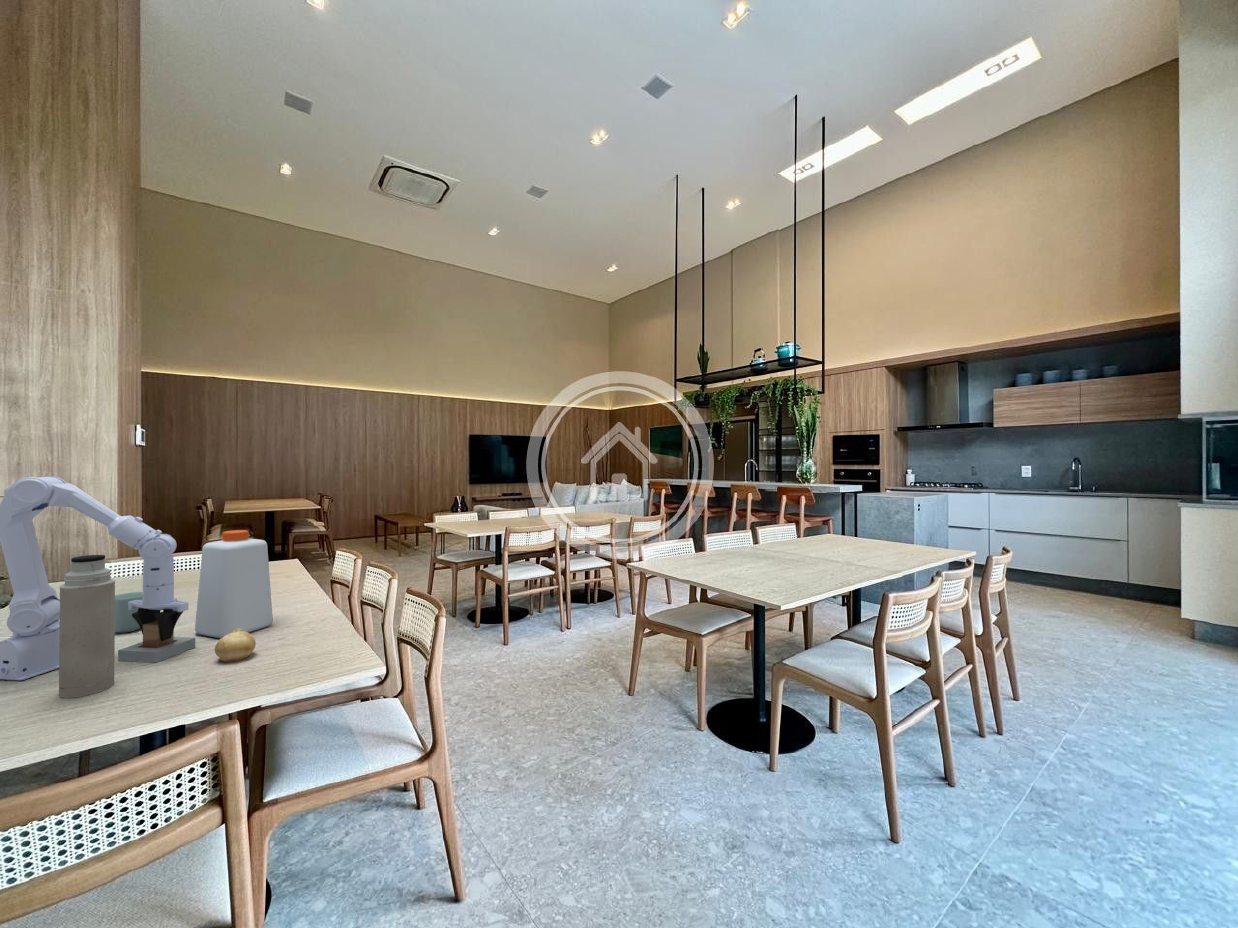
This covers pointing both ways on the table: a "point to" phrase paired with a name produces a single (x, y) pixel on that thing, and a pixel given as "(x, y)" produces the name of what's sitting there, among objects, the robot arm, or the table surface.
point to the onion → (235, 645)
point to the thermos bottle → (86, 628)
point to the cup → (126, 612)
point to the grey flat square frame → (156, 651)
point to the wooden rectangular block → (154, 636)
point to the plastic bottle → (233, 586)
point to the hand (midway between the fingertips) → (158, 638)
